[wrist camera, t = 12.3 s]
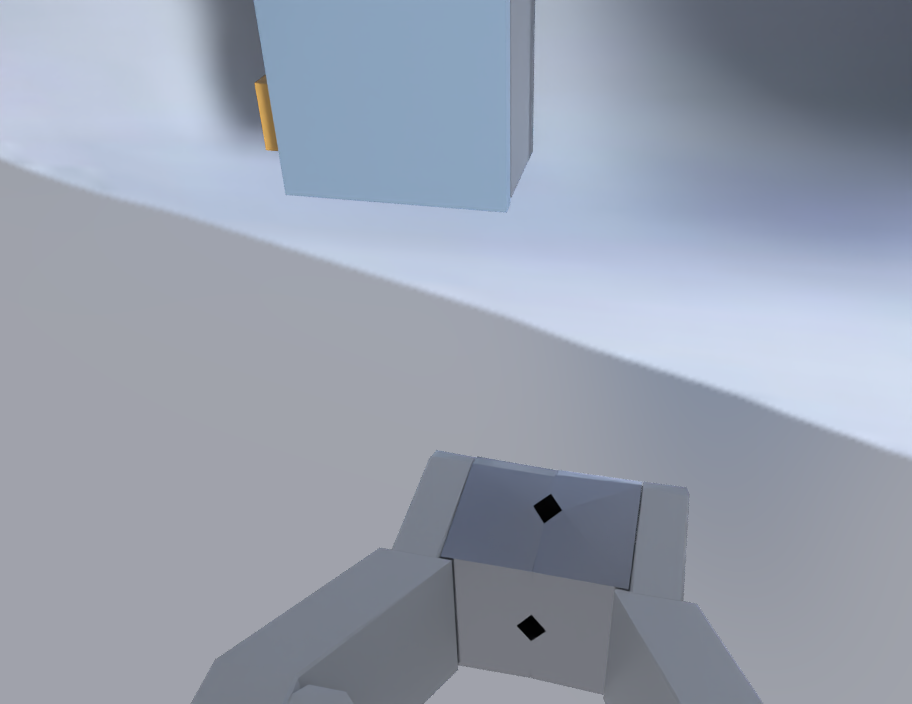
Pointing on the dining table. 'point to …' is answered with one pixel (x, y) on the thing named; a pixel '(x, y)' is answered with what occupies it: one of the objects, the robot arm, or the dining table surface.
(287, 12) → the cover
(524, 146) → the grey rectangular open box
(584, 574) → the robot arm
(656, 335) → the dining table surface
